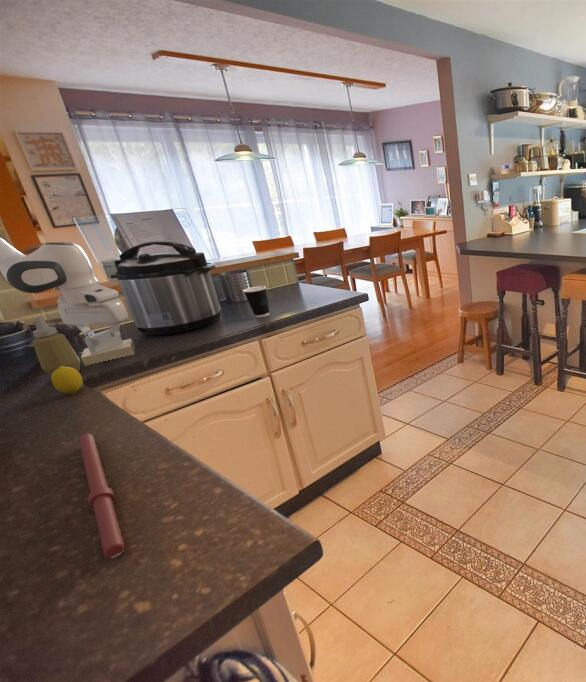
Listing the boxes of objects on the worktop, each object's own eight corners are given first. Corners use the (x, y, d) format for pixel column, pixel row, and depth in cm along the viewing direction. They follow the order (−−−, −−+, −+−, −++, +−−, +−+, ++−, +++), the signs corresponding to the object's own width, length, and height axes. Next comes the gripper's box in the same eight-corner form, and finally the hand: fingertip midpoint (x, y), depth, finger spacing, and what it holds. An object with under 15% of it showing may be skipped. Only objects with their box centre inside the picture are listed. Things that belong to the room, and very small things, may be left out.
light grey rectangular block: (96, 353, 135) (88, 337, 133) (90, 353, 136) (83, 337, 134) (123, 342, 144) (116, 327, 142) (117, 342, 144) (111, 327, 142)
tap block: (81, 368, 132) (77, 359, 131) (86, 356, 142) (82, 347, 141) (136, 355, 140) (132, 346, 138) (137, 344, 149) (133, 336, 148)
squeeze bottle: (48, 383, 123) (17, 324, 116) (47, 376, 128) (17, 318, 122) (86, 373, 128) (58, 315, 122) (83, 366, 134) (56, 311, 127)
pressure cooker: (244, 315, 174) (219, 235, 162) (169, 341, 150) (133, 249, 138) (198, 310, 186) (171, 235, 174) (121, 333, 162) (84, 248, 150)
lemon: (74, 389, 118) (60, 362, 116) (93, 388, 118) (80, 361, 115) (53, 399, 113) (39, 371, 110) (73, 398, 113) (59, 370, 110)
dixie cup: (270, 317, 169) (262, 289, 165) (248, 320, 168) (239, 292, 164) (275, 311, 177) (268, 285, 173) (254, 314, 175) (246, 287, 171)
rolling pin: (133, 553, 63) (124, 536, 62) (105, 567, 61) (95, 550, 60) (99, 441, 92) (93, 428, 91) (79, 448, 90) (72, 435, 89)
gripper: (44, 299, 132) (65, 341, 137) (102, 296, 129) (121, 339, 134) (66, 293, 137) (85, 333, 143) (122, 290, 135) (140, 332, 140)
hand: (103, 336), depth 138 cm, fingers open, 8 cm apart
